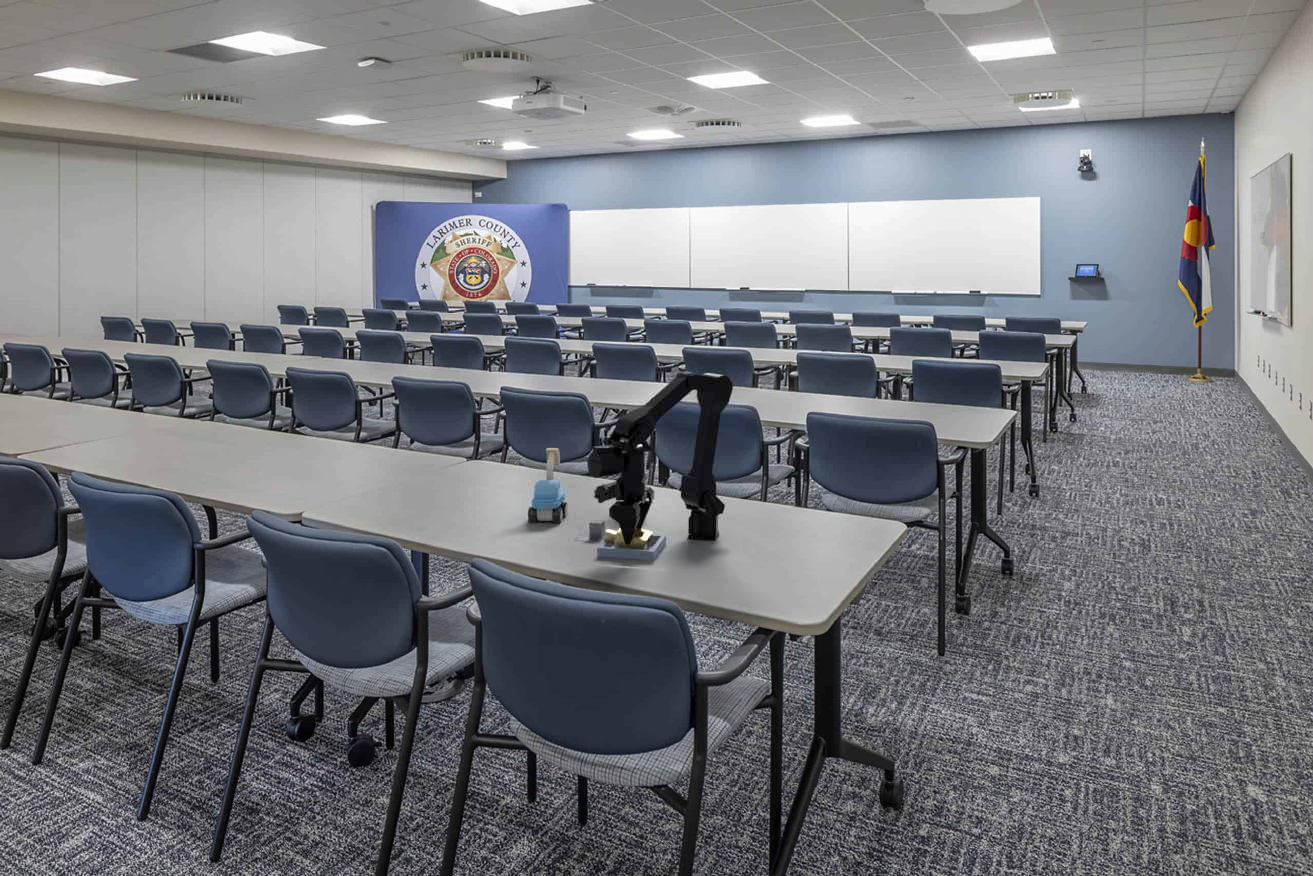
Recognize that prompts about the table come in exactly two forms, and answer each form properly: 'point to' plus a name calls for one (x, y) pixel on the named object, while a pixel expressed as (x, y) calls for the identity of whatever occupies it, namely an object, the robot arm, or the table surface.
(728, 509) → the table surface
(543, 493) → the toy excavator
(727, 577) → the table surface
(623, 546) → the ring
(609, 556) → the tray
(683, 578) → the table surface
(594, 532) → the grey peg base
